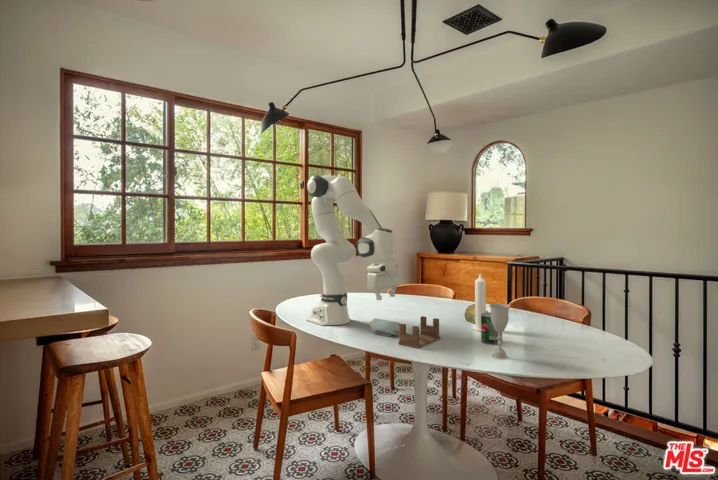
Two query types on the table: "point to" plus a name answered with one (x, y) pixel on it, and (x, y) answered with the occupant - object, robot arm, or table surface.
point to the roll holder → (424, 337)
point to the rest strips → (383, 334)
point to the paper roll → (385, 326)
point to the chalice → (499, 326)
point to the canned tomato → (488, 330)
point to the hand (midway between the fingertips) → (385, 298)
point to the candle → (479, 301)
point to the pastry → (471, 313)
